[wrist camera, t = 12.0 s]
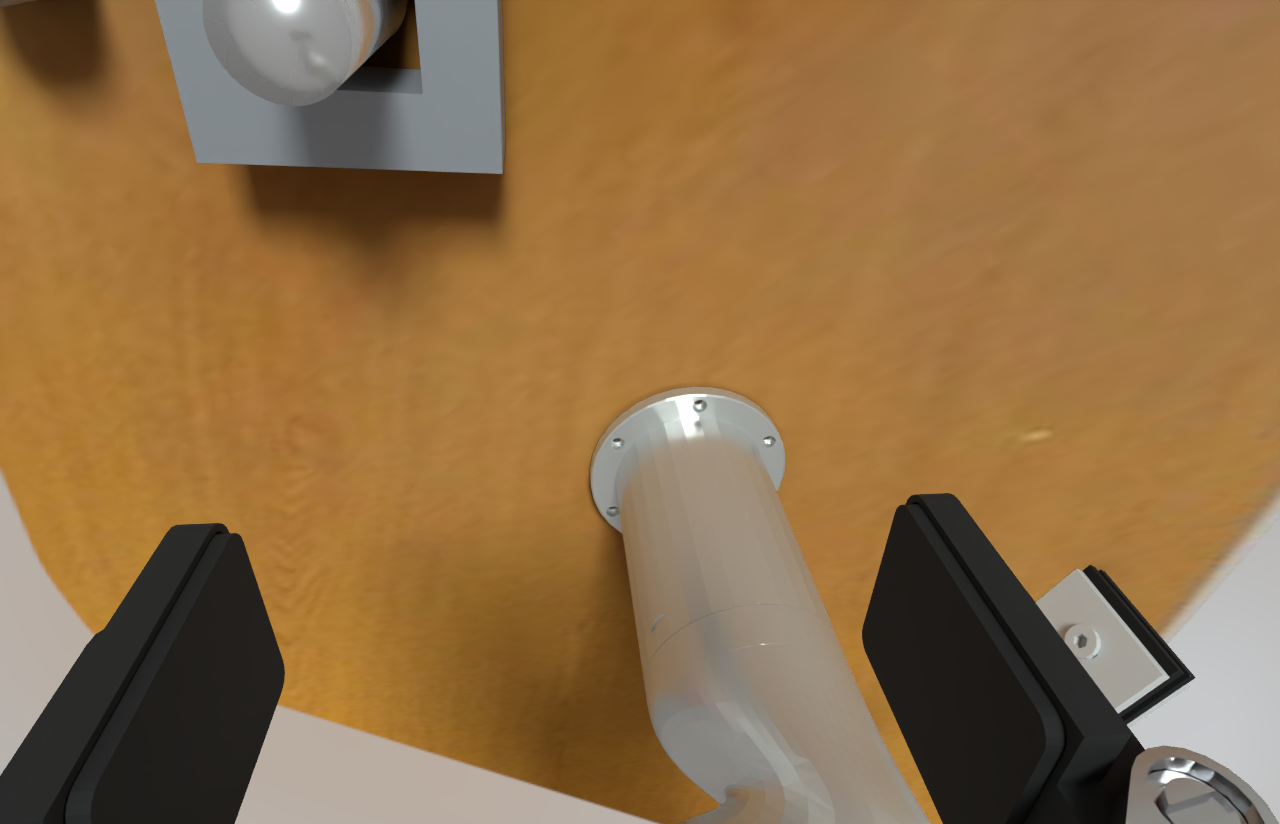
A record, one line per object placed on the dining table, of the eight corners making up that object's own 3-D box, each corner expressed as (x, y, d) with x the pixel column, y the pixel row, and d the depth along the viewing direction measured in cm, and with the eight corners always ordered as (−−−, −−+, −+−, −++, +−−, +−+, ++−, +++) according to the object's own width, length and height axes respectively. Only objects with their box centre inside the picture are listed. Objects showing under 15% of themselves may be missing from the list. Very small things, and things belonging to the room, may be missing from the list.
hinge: (1014, 674, 67) (1081, 782, 59) (966, 667, 65) (1027, 778, 57) (1113, 568, 60) (1205, 675, 52) (1061, 559, 58) (1147, 667, 50)
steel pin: (412, 46, 32) (360, 109, 23) (316, 40, 32) (221, 102, 22) (402, -61, 30) (340, -44, 20) (299, -70, 30) (185, -56, 20)
